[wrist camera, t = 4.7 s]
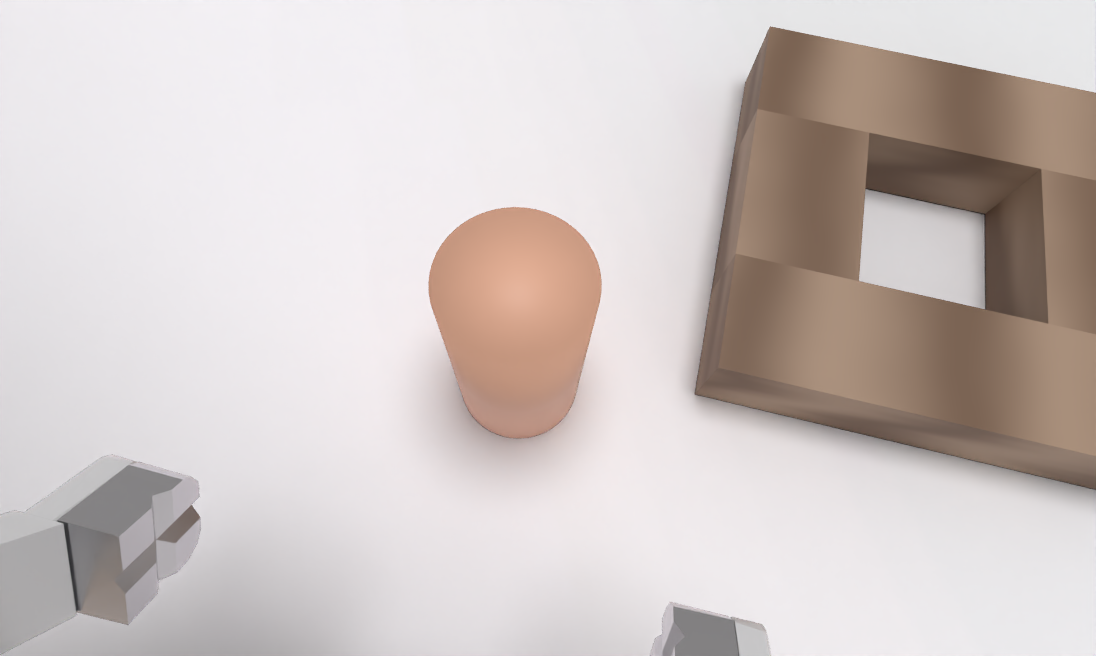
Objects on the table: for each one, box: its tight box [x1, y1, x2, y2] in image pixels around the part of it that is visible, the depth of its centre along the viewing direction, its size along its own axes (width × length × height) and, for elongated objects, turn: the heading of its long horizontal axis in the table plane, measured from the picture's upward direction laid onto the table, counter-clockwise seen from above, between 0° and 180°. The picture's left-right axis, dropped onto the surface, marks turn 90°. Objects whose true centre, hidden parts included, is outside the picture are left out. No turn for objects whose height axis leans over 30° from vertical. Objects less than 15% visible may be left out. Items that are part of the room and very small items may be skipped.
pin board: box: [695, 27, 1096, 489], centre depth 23 cm, size 14×14×3 cm
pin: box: [429, 207, 601, 438], centre depth 19 cm, size 4×4×8 cm
